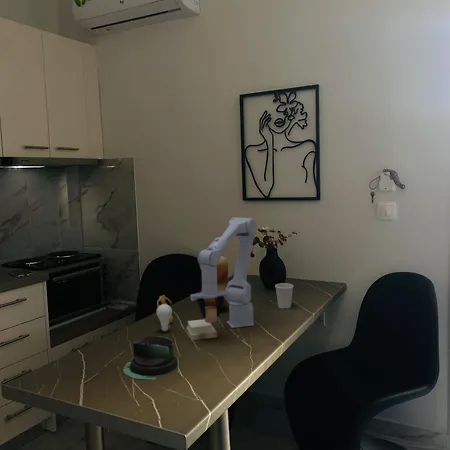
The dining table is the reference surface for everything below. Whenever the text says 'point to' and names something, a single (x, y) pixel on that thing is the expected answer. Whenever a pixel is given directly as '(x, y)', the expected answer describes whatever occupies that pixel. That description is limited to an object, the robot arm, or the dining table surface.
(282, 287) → the dixie cup
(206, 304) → the butternut squash
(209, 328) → the cream slab
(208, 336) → the birch slab
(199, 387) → the dining table surface
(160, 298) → the figurine
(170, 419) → the dining table surface
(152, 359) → the black hat
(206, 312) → the terracotta cylinder
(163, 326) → the lightbulb
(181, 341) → the dining table surface
